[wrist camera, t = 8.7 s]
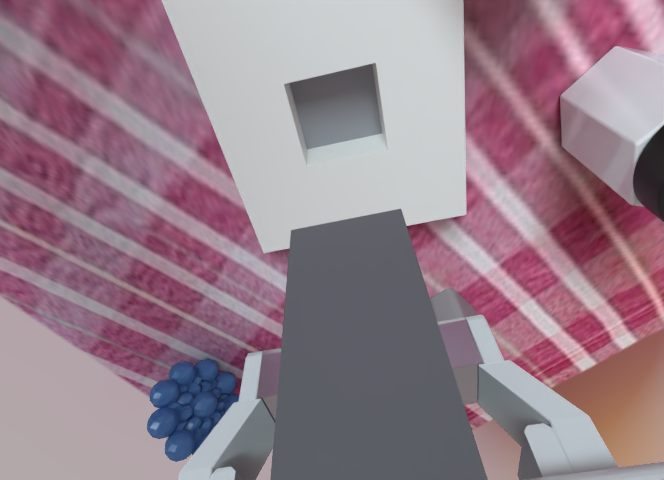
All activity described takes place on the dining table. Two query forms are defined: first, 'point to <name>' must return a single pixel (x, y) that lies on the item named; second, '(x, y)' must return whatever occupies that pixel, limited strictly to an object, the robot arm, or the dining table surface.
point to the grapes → (190, 406)
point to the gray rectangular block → (365, 363)
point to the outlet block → (332, 106)
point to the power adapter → (451, 306)
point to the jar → (620, 124)
